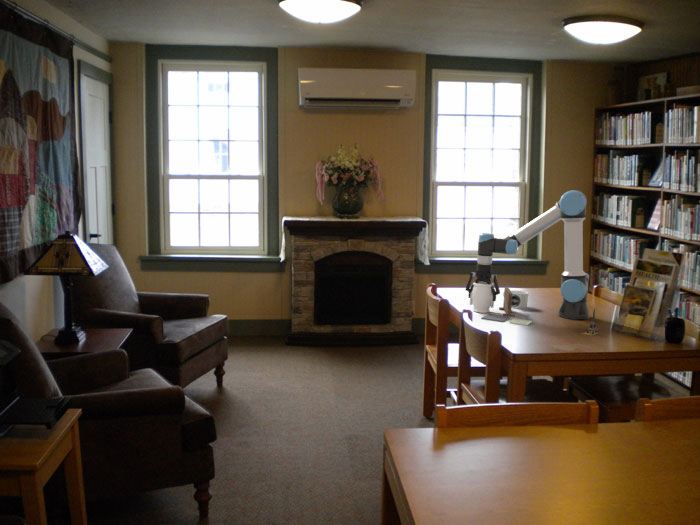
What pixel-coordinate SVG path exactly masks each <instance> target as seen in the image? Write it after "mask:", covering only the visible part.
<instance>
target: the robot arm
mask: <svg viewBox="0 0 700 525" xmlns="http://www.w3.org/2000/svg"><path fill="white" fill-rule="evenodd" d="M587 204H588V199H587V196H586V194H585V193H584V192H582V191H581V190H579V189H573V190H568V191H566V192H564V193H563V194H562V195H561V197H560V199H559V200H557V201H556V202H555V205H554V206H552V207H551V208H549V209H548V210H546V211H545V212H543V213H541V214H540V215H539V216H537V217H535V218H533V220H531V221H530V222H529V221H528V223H526V224H525V225H523V226H522V227H520V228H519V229H517V230H515V231H514V232H513V233H511V234H510V235H508V236H506V237H505V238H496V237H495V234H494V233H488V232H487V233H483V232H482V233H480V234H479V235H478V241H477V243H478V244H477V258H476V263H477V264H476V272H473V271H472V272H470V274H469V279H468V281H467V284H466V286H465V291H467V292H468V299H469V305H470V306H473V300H472V291H473V287H474V285H473V280H474V277H476V280H475V281H474V282H475V283H477V284H478V282H479V281H482V282H487V284H492V283H493V284H494V286H492V287H491V291H492V294H493V295H491V306H490V308H491V309H492V308H494V305H495V304H494V303H495V302H496V301H497V295H499V294H501V291H500V287H499V281H498V274H492V267H493V265H492V264H493V254H502V255H503V254H504V255H510V256H511V255H516V254H517V253H518V248H519V247H521V246H522V245H524V244H525V243H527V242H529V241H530V240H532V239H533V238H535V237H536V236H537V235H539V234H541V233H543V232H544V231H545V230H547V229H548V228H550V227H552V226H553V225H555V224H557V223H558V222H560V221H563V223H564V224H563V230H564V231H563V234H564V235H563V236H564V241H563V243H564V245H563V246H564V247H563V248H564V252H563V253H564V254H563V256H564V258H563V259H564V271H562V273H561V275H560V276H561V285H560V294H561V297H562V301H561V304H560V306H559V309H558V312H557V316H559V317H560V316H561V318H563V317H564V318H565V319H568V318H570V319H569V320H577V319H584V320H588V319H590V312H589V307H588V303H587V302H588V292H589V290H588V289H589V281H590V275H589V273H586V272H585V271H584V260H583V259H584V258H583V256H584V252H583V250H584V248H583V247H584V246H583V242H584V239H583V238H584V237H583V233H584V232H583V229H584V227H583V225H584V223H583V222H584V221H585V220H586V219H587V218H586V216H587V209H586V208H587ZM491 279H492V280H493V282H492V280H491ZM490 308H489V309H490ZM564 318H563V319H564ZM587 318H588V319H587Z"/></svg>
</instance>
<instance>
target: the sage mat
mask: <svg viewBox="0 0 700 525" xmlns="http://www.w3.org/2000/svg"><path fill="white" fill-rule="evenodd" d="M508 322H509V324H514V325H519V326H520V325H521V326H527V325H528V326H530V323H531V324H532V323H533V320H528V319H527V320H526V319H521V318H515V317H514V318H513V319H511V320H509V321H508Z"/></svg>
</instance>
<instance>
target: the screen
mask: <svg viewBox="0 0 700 525" xmlns="http://www.w3.org/2000/svg"><path fill="white" fill-rule="evenodd" d="M511 291H512V290H511V289H510V288H509V287H508V286H504V292H503V293H504V296H503V304H502V305H503V306H499V307H498V310H499V311H504V312H503V313H502V316H507V317H509V318H511V317H512V318H513V317H514V318H515V317H516V313H512V308H511V307H512V292H511Z"/></svg>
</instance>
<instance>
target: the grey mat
mask: <svg viewBox="0 0 700 525" xmlns="http://www.w3.org/2000/svg"><path fill="white" fill-rule="evenodd" d="M480 319H481V320H484V321H492V322H500V323H505V321H507V320H509V319H510V317H508V316H503V315H498V314H491V313H487V314H485V315H484V316H481V318H480Z"/></svg>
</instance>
